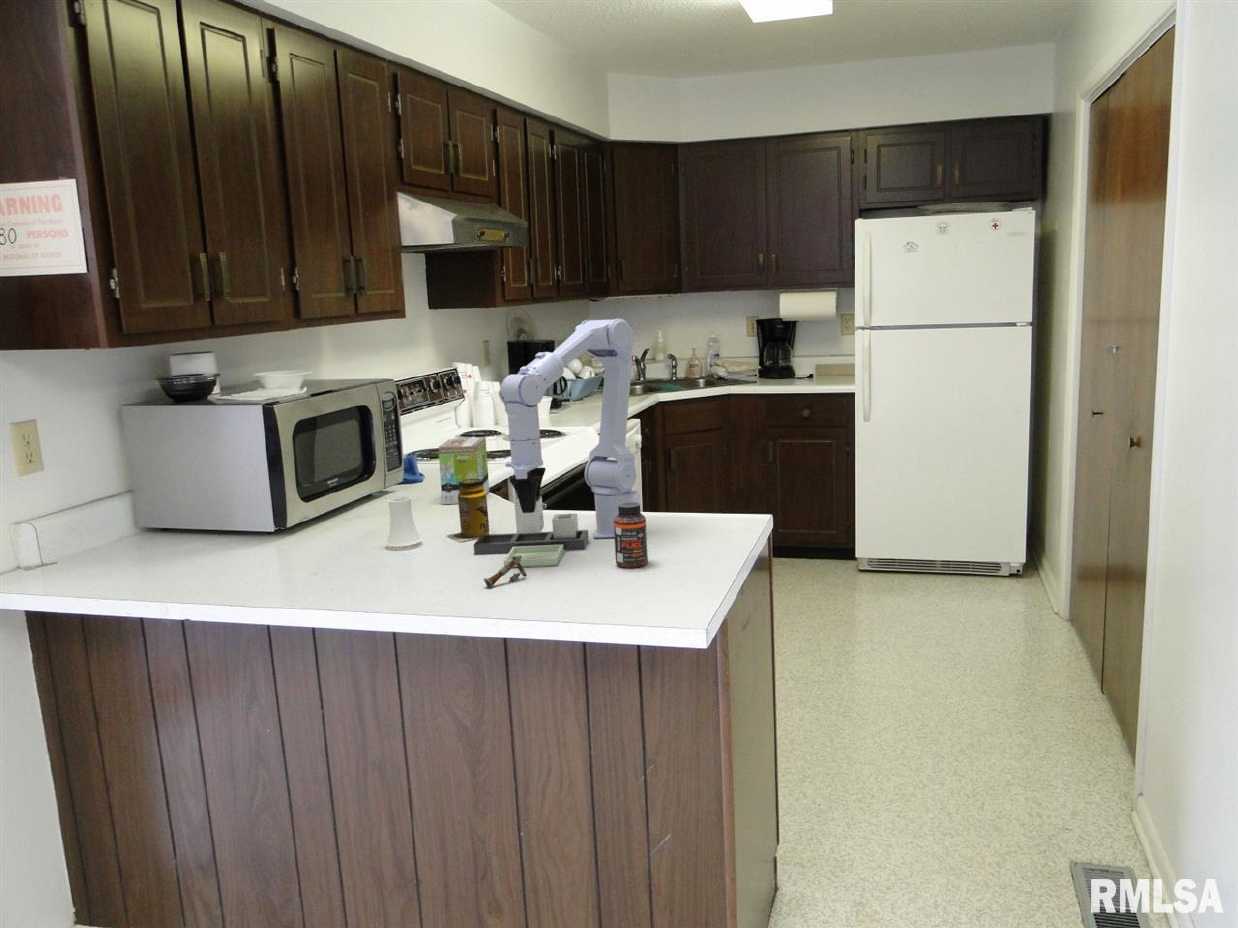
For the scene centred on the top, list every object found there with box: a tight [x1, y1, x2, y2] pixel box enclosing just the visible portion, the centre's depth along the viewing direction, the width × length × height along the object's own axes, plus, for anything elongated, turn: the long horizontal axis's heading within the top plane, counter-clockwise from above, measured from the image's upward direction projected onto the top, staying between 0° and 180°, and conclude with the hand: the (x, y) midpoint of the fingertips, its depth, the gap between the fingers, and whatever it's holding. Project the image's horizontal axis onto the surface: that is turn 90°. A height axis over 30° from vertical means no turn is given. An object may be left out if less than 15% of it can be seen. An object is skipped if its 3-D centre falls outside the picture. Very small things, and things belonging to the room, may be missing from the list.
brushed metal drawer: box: [551, 513, 579, 540], centre depth 198 cm, size 4×4×6 cm
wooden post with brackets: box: [483, 555, 528, 589], centre depth 175 cm, size 2×8×4 cm, turn 128°
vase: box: [384, 496, 423, 551], centre depth 206 cm, size 8×8×10 cm
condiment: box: [446, 479, 496, 543], centre depth 211 cm, size 7×8×12 cm
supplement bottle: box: [614, 502, 649, 569], centre depth 181 cm, size 6×6×11 cm
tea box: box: [438, 436, 490, 505], centre depth 252 cm, size 15×10×15 cm
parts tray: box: [503, 545, 565, 569], centre depth 189 cm, size 10×10×2 cm
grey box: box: [513, 495, 545, 533], centre depth 188 cm, size 4×4×6 cm
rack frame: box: [473, 529, 589, 555], centre depth 199 cm, size 22×8×2 cm, turn 86°
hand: (530, 509), depth 187 cm, fingers closed on grey box, 4 cm apart
